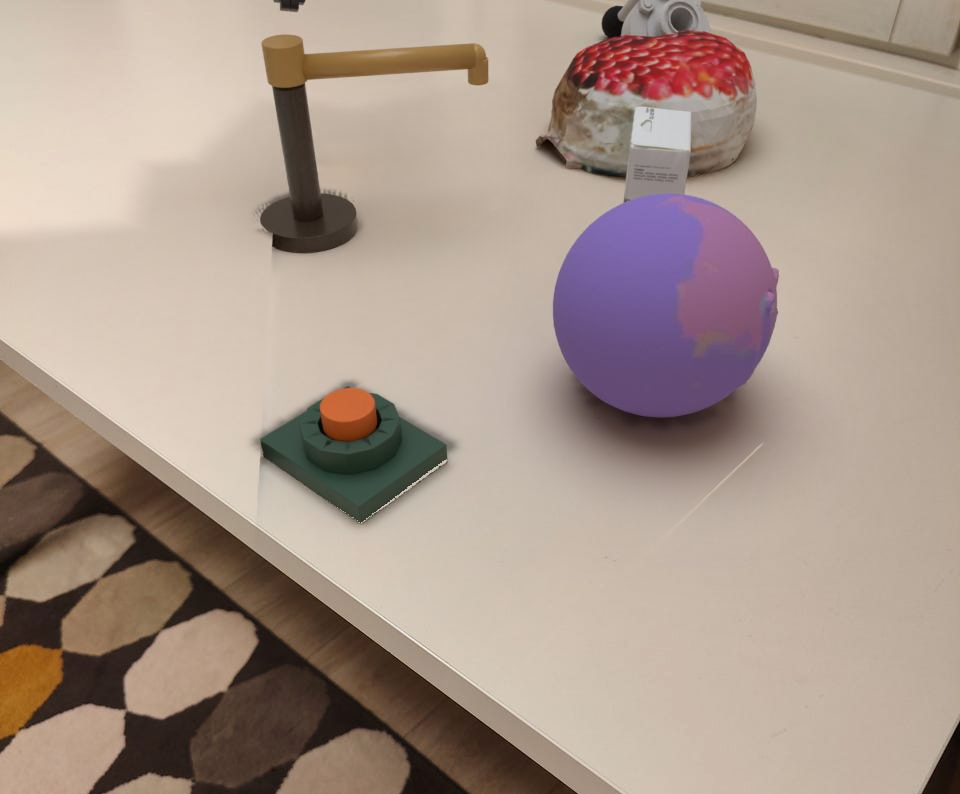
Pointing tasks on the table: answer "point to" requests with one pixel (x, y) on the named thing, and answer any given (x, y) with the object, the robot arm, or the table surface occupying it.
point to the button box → (354, 458)
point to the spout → (366, 61)
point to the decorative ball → (665, 305)
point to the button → (348, 414)
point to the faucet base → (304, 186)
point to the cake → (653, 99)
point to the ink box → (658, 153)
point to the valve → (654, 18)
